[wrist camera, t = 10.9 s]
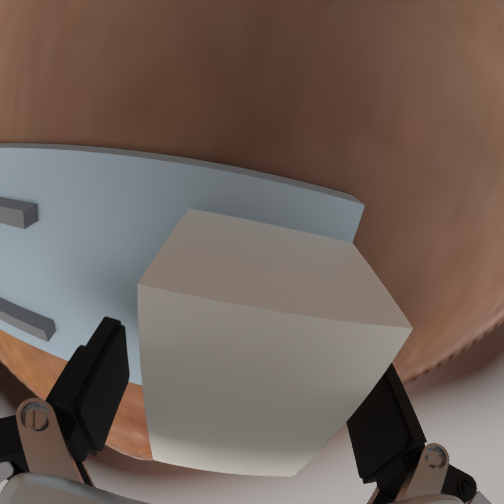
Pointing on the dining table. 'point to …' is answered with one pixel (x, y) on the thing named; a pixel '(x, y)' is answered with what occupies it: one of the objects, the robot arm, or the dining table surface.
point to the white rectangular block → (258, 343)
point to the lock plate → (121, 230)
